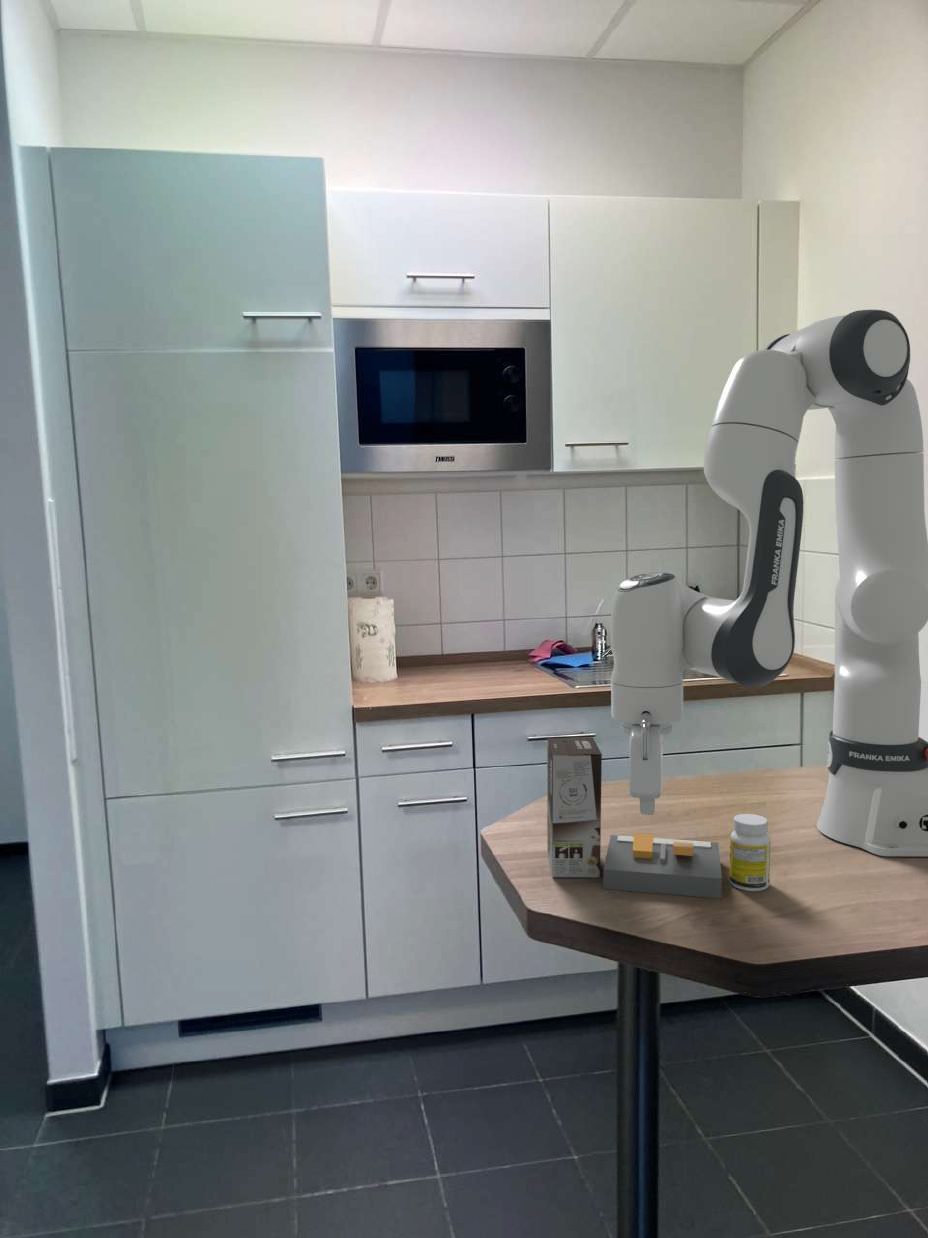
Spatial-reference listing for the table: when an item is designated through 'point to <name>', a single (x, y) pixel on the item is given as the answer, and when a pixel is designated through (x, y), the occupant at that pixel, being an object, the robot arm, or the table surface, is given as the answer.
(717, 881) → the switch strip
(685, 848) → the orange rectangular block
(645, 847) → the paddle
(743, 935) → the table surface
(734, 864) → the supplement bottle
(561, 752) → the coffee box
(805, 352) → the robot arm
